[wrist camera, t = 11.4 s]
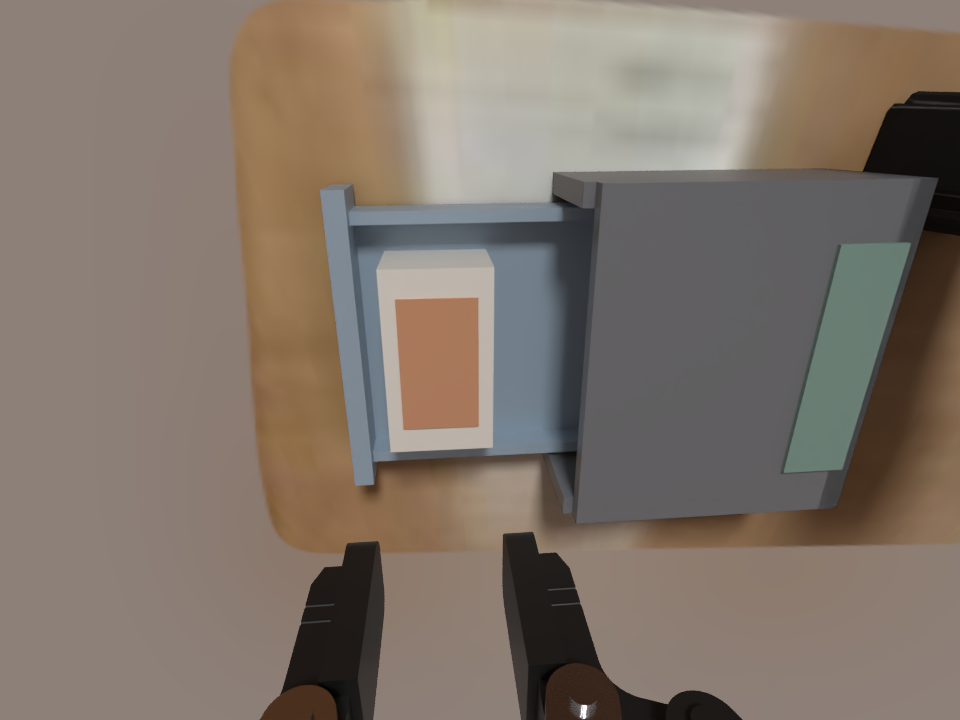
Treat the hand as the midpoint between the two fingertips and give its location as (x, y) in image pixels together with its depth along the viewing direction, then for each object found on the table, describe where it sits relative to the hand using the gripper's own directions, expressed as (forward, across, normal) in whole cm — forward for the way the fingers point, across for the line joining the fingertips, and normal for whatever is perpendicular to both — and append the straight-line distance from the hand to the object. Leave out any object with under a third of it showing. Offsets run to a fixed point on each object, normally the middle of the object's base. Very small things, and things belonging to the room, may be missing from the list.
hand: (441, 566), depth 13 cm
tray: (+17, -2, 0) cm, 17 cm away
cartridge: (+16, 0, 0) cm, 16 cm away
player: (+17, -13, 0) cm, 22 cm away
